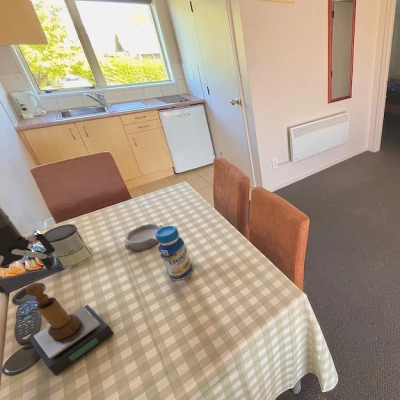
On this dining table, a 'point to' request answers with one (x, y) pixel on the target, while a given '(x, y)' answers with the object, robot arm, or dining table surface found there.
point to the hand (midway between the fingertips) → (27, 279)
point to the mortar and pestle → (54, 313)
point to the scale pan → (58, 346)
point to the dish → (142, 237)
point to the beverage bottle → (174, 253)
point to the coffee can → (68, 245)
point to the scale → (75, 346)
